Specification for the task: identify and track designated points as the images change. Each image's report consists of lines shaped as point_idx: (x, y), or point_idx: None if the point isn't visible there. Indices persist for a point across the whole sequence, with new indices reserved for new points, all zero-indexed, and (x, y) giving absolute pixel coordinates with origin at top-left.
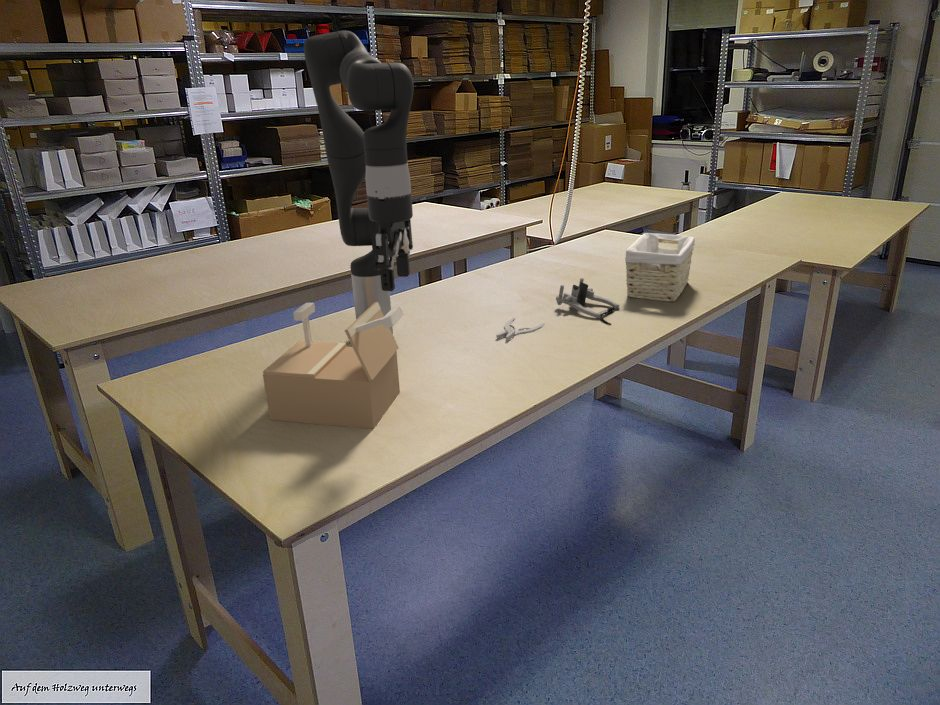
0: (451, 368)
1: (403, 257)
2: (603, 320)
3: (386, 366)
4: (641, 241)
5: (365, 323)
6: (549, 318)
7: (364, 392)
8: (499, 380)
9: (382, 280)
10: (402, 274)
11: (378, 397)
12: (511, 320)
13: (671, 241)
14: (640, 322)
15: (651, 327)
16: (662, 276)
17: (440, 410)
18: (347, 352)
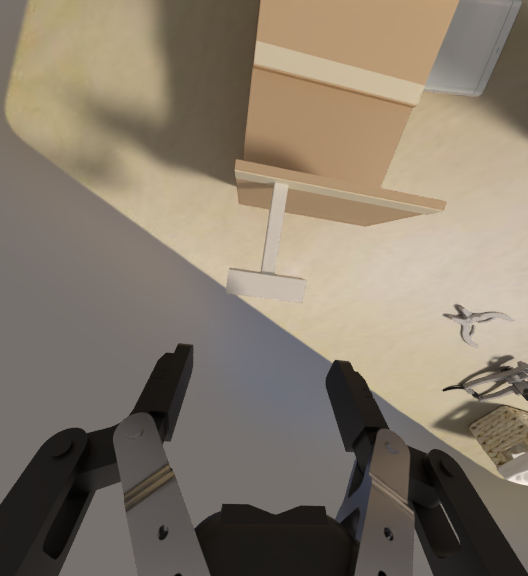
0: (393, 262)
1: (351, 442)
2: (453, 388)
3: None
4: None
5: (281, 210)
6: (490, 350)
7: None
8: (347, 310)
9: (149, 380)
10: (332, 373)
11: None
12: (507, 319)
13: None
14: (436, 406)
15: (421, 410)
16: (498, 446)
17: (286, 260)
18: (377, 119)
